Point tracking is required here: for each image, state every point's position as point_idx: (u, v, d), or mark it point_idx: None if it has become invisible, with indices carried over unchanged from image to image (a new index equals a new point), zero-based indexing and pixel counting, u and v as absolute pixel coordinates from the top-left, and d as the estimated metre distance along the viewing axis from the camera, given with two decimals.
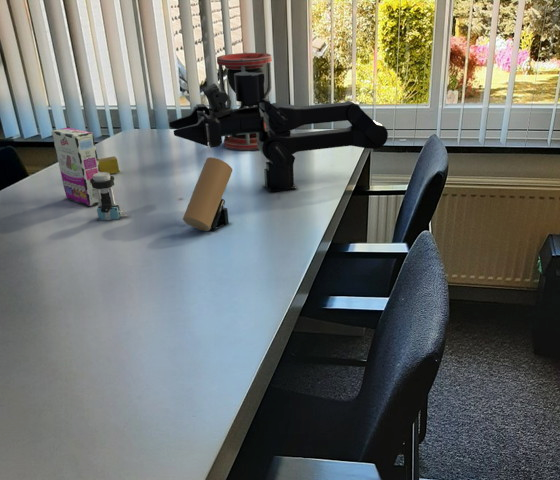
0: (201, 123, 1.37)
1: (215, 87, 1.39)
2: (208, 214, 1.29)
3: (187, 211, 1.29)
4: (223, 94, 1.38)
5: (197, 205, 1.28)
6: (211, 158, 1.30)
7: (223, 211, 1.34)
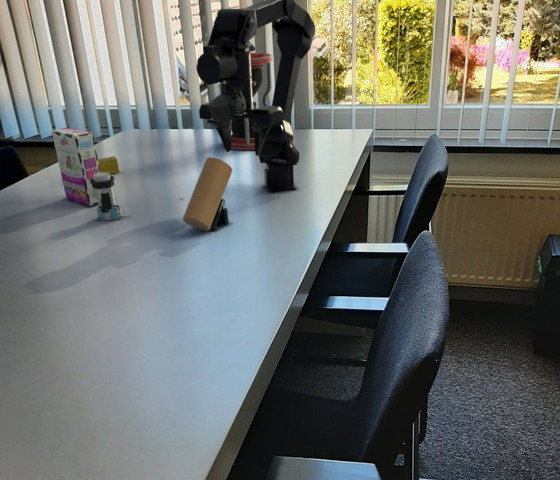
0: (260, 128, 1.32)
1: (225, 109, 1.27)
2: (208, 214, 1.29)
3: (187, 211, 1.29)
4: (237, 102, 1.26)
5: (197, 205, 1.28)
6: (211, 158, 1.30)
7: (223, 211, 1.34)
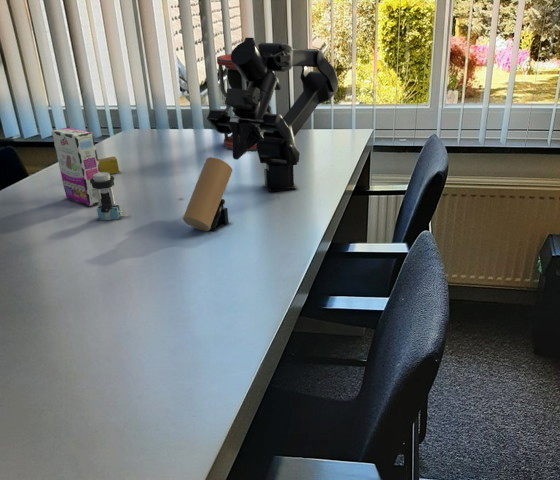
0: (249, 129, 1.35)
1: (242, 92, 1.30)
2: (208, 214, 1.29)
3: (187, 211, 1.29)
4: (256, 90, 1.30)
5: (197, 205, 1.28)
6: (211, 158, 1.30)
7: (223, 211, 1.34)
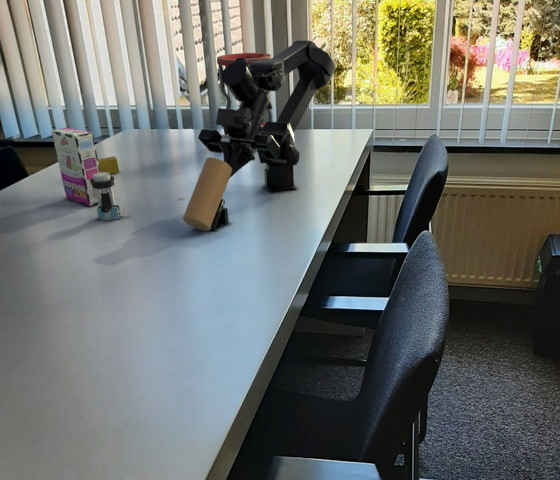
0: (240, 149, 1.34)
1: (233, 112, 1.29)
2: (208, 214, 1.29)
3: (187, 211, 1.29)
4: (247, 111, 1.29)
5: (197, 205, 1.28)
6: (211, 158, 1.30)
7: (223, 211, 1.34)
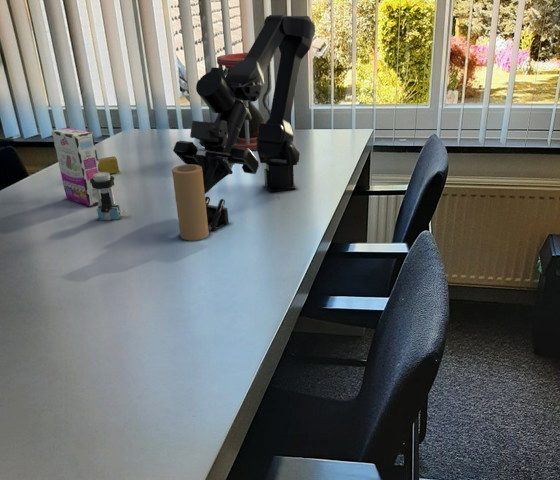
0: (217, 163, 1.28)
1: (208, 125, 1.23)
2: (201, 229, 1.28)
3: (181, 232, 1.29)
4: (222, 123, 1.23)
5: (188, 227, 1.27)
6: (177, 174, 1.22)
7: (223, 211, 1.34)
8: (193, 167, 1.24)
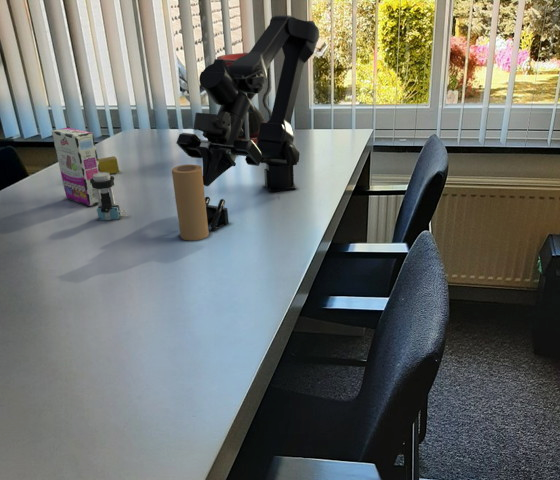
0: (220, 155, 1.28)
1: (211, 116, 1.23)
2: (201, 229, 1.28)
3: (181, 232, 1.29)
4: (225, 115, 1.23)
5: (187, 226, 1.27)
6: (176, 173, 1.22)
7: (223, 211, 1.34)
8: (193, 167, 1.24)
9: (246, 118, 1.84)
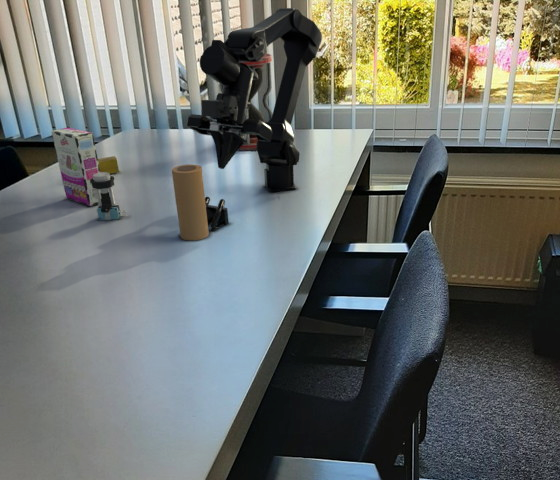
0: (231, 137, 1.30)
1: (217, 104, 1.24)
2: (201, 229, 1.28)
3: (181, 232, 1.29)
4: (231, 100, 1.24)
5: (187, 226, 1.27)
6: (176, 173, 1.22)
7: (223, 211, 1.34)
8: (193, 167, 1.24)
9: (246, 118, 1.84)
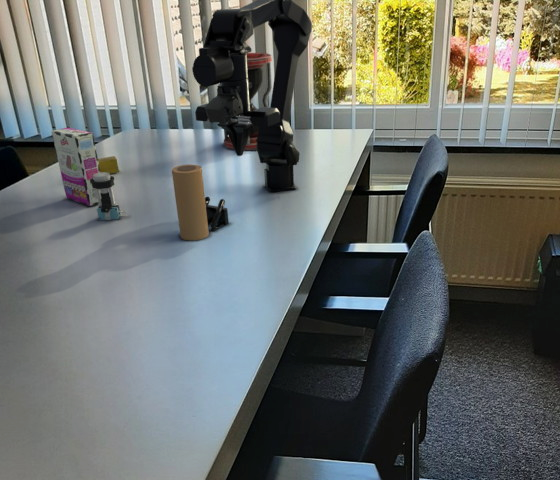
0: (242, 129, 1.32)
1: (222, 111, 1.26)
2: (201, 229, 1.28)
3: (181, 232, 1.29)
4: (233, 104, 1.25)
5: (187, 226, 1.27)
6: (176, 173, 1.22)
7: (223, 211, 1.34)
8: (193, 167, 1.24)
9: None
